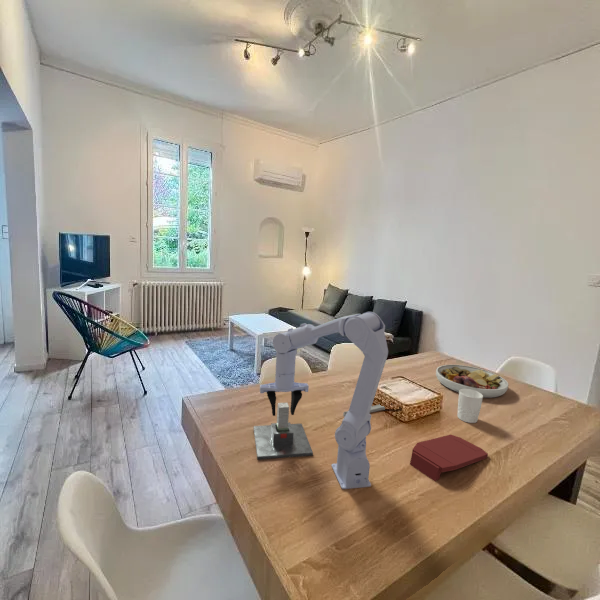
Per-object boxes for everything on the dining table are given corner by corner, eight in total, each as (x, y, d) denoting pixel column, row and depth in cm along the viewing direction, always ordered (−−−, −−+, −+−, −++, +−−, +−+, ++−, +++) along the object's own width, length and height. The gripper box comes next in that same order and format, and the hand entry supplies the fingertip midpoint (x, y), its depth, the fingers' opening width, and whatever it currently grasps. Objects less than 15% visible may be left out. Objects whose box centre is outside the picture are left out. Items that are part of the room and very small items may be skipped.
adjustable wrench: (345, 419, 120) (346, 415, 120) (337, 411, 126) (337, 406, 126) (402, 410, 130) (402, 405, 130) (391, 402, 136) (392, 398, 135)
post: (287, 431, 102) (289, 407, 101) (277, 432, 101) (279, 407, 100) (286, 426, 105) (287, 402, 104) (276, 426, 104) (277, 402, 103)
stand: (312, 455, 98) (313, 441, 97) (257, 459, 95) (258, 445, 94) (301, 426, 113) (302, 413, 113) (253, 428, 110) (254, 416, 109)
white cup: (454, 420, 124) (458, 394, 122) (456, 411, 131) (459, 387, 129) (479, 426, 120) (483, 400, 119) (479, 417, 127) (483, 392, 126)
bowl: (437, 369, 177) (439, 355, 176) (503, 382, 164) (505, 367, 163) (432, 390, 150) (434, 373, 149) (510, 407, 138) (513, 389, 136)
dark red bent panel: (449, 447, 113) (403, 461, 98) (453, 433, 113) (407, 445, 98) (486, 468, 103) (441, 486, 88) (490, 453, 103) (445, 468, 88)
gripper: (306, 366, 106) (303, 406, 108) (259, 366, 103) (257, 408, 105) (311, 374, 99) (308, 417, 101) (261, 375, 96) (259, 420, 98)
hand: (282, 413), depth 102 cm, fingers open, 5 cm apart
